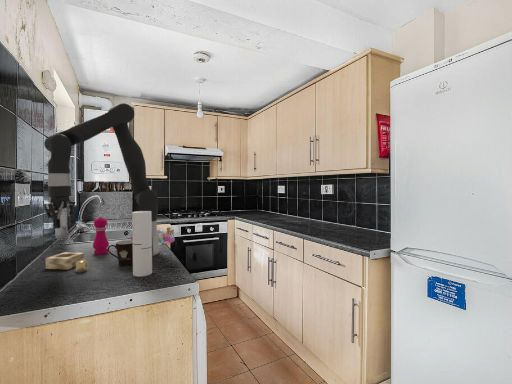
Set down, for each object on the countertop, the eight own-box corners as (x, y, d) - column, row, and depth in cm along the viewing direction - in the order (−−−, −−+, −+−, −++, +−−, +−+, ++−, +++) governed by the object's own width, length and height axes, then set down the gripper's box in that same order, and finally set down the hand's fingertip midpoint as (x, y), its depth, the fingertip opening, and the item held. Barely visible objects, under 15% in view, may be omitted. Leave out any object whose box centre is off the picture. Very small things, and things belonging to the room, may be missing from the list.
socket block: (84, 262, 125) (84, 252, 125) (67, 269, 115) (67, 258, 115) (64, 261, 126) (63, 252, 126) (45, 268, 116) (45, 258, 116)
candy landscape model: (144, 238, 180) (144, 224, 180) (179, 238, 179) (179, 224, 179) (124, 247, 155) (124, 231, 155) (165, 248, 154) (165, 231, 154)
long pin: (70, 236, 112) (68, 207, 112) (62, 238, 109) (61, 208, 108) (60, 236, 113) (59, 207, 112) (53, 238, 109) (51, 208, 108)
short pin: (89, 269, 115) (89, 260, 115) (82, 272, 111) (82, 262, 111) (80, 269, 116) (80, 259, 116) (73, 272, 112) (73, 262, 112)
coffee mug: (141, 262, 126) (141, 240, 125) (126, 267, 118) (126, 244, 117) (121, 259, 130) (121, 239, 129) (106, 265, 121) (105, 242, 121)
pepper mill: (101, 255, 137) (101, 215, 136) (89, 254, 139) (88, 215, 138) (112, 251, 144) (111, 214, 143) (100, 251, 146) (99, 213, 145)
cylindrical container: (136, 270, 114) (135, 211, 113) (154, 270, 114) (153, 210, 113) (130, 276, 106) (129, 213, 106) (149, 276, 107) (148, 212, 106)
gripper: (54, 185, 102) (56, 230, 103) (80, 184, 117) (82, 224, 117) (35, 185, 103) (37, 230, 104) (64, 184, 117) (65, 224, 118)
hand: (61, 227), depth 110 cm, fingers closed on long pin, 4 cm apart
